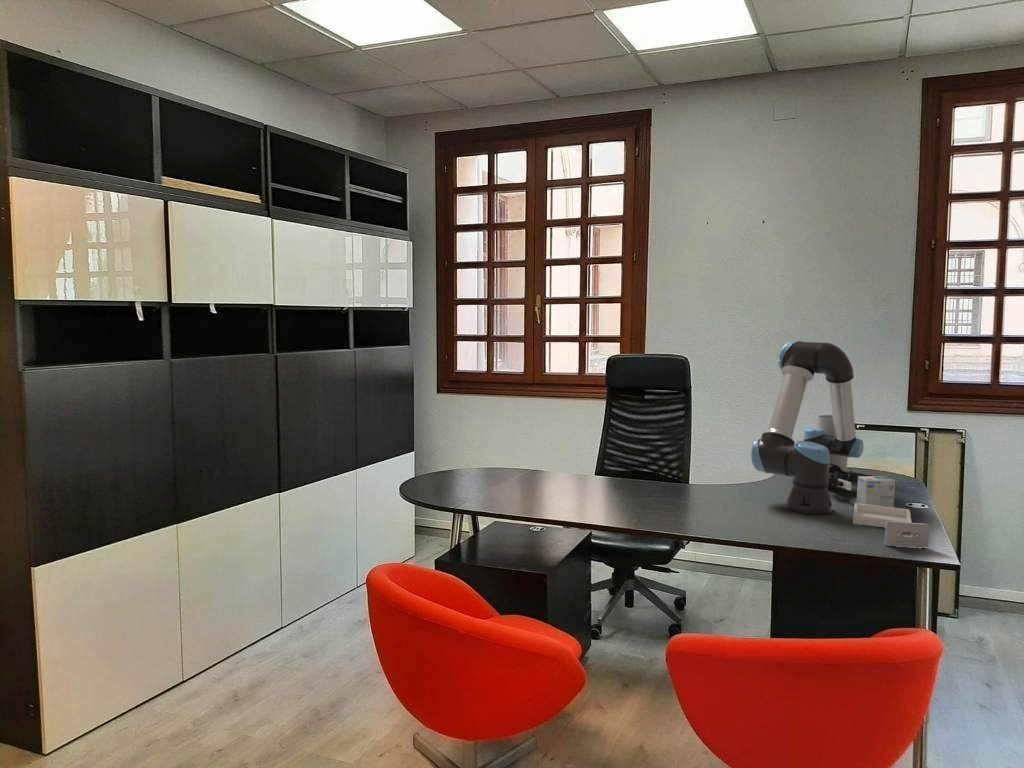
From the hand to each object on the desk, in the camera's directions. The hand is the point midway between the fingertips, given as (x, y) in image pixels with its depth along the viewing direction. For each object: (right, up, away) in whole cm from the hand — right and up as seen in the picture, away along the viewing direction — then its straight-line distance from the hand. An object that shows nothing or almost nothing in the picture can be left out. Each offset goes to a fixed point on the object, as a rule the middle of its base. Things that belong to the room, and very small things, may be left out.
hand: (866, 485), depth 271 cm
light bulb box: (+1, -7, -5) cm, 9 cm away
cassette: (-11, -12, -48) cm, 50 cm away
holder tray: (-5, -9, -22) cm, 24 cm away
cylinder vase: (+4, -2, +41) cm, 41 cm away
